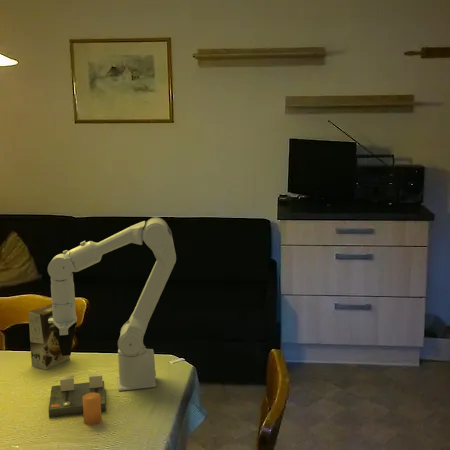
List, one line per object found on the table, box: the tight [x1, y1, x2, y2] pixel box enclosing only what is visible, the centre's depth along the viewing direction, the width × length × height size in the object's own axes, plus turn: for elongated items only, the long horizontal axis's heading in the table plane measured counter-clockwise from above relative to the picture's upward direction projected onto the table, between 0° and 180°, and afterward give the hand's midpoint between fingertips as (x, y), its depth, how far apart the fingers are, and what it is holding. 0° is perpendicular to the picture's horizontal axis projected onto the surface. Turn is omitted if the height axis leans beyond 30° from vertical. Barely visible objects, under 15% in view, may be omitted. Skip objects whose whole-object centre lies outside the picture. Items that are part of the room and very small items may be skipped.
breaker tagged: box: [59, 375, 75, 391], centre depth 152 cm, size 3×2×3 cm, turn 102°
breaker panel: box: [47, 380, 107, 419], centre depth 150 cm, size 13×13×2 cm
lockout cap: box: [82, 393, 103, 426], centre depth 140 cm, size 4×4×6 cm
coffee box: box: [27, 303, 71, 371], centre depth 173 cm, size 9×6×16 cm
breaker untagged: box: [88, 372, 104, 388], centre depth 154 cm, size 3×2×3 cm, turn 102°
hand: (66, 352), depth 157 cm, fingers open, 3 cm apart
